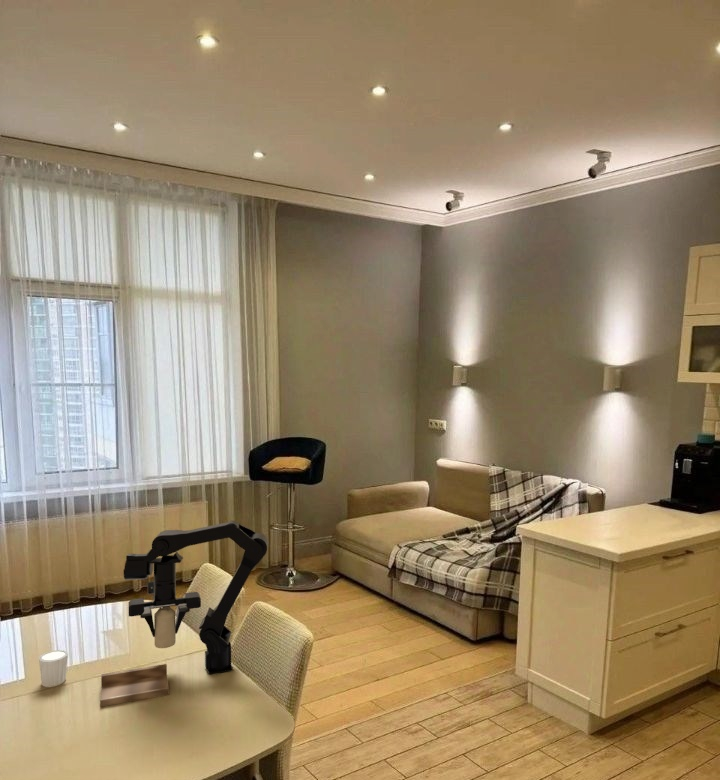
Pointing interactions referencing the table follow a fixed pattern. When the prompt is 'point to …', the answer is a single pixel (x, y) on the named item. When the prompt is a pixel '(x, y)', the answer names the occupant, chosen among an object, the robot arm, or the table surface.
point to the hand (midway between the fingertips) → (165, 634)
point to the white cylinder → (53, 667)
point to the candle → (164, 627)
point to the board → (134, 685)
